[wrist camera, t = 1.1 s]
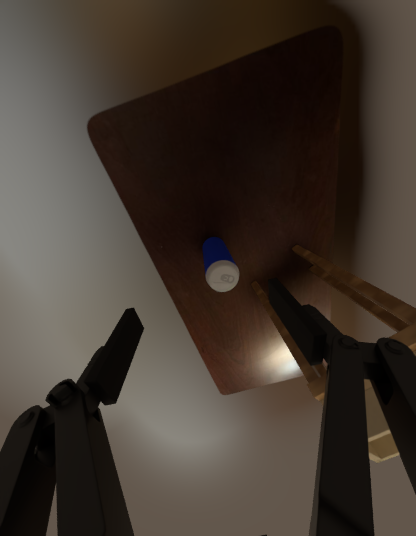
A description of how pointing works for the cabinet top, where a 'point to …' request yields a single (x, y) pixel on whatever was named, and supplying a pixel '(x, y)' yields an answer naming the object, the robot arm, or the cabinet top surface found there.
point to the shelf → (408, 334)
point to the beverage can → (219, 265)
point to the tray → (377, 428)
